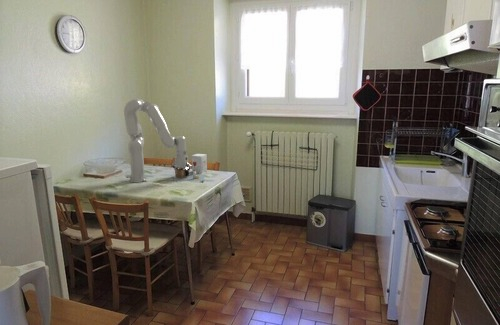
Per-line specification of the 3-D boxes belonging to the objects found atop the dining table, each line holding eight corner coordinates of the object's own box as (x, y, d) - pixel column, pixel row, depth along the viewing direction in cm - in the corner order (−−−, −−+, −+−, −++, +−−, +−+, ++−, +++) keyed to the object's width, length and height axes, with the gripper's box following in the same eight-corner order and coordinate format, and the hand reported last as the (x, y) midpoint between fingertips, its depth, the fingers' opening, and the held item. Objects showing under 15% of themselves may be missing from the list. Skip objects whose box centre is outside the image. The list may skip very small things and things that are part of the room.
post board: (173, 182, 255) (172, 174, 253) (176, 176, 272) (176, 168, 271) (203, 182, 256) (203, 174, 255) (205, 176, 273) (204, 168, 272)
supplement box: (192, 173, 280) (191, 155, 277) (197, 171, 289) (197, 153, 285) (201, 174, 277) (201, 156, 274) (207, 172, 285) (206, 154, 282)
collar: (183, 178, 262) (182, 170, 260) (175, 177, 265) (175, 169, 264) (188, 176, 268) (188, 168, 267) (181, 175, 271) (180, 167, 270)
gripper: (193, 153, 262) (194, 175, 266) (174, 151, 269) (176, 172, 273) (187, 154, 255) (188, 177, 259) (168, 153, 263) (169, 175, 267)
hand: (182, 175), depth 266 cm, fingers open, 9 cm apart
